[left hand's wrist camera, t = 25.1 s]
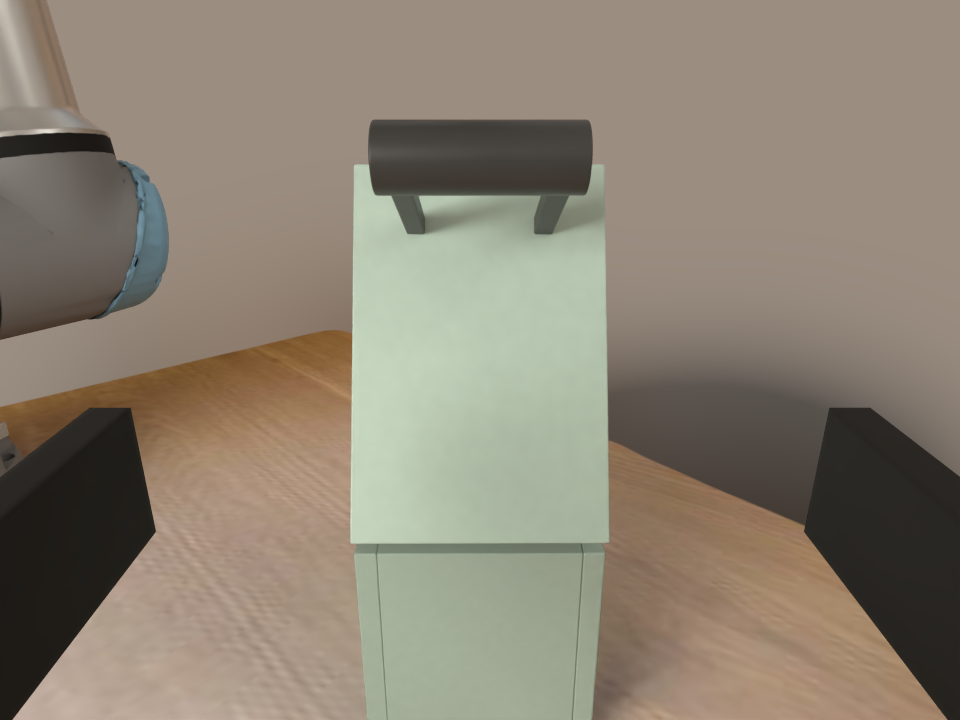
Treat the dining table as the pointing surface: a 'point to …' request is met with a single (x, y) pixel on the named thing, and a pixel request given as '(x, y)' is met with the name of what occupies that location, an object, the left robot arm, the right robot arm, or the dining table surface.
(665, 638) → the dining table surface
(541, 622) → the chest
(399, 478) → the lid
